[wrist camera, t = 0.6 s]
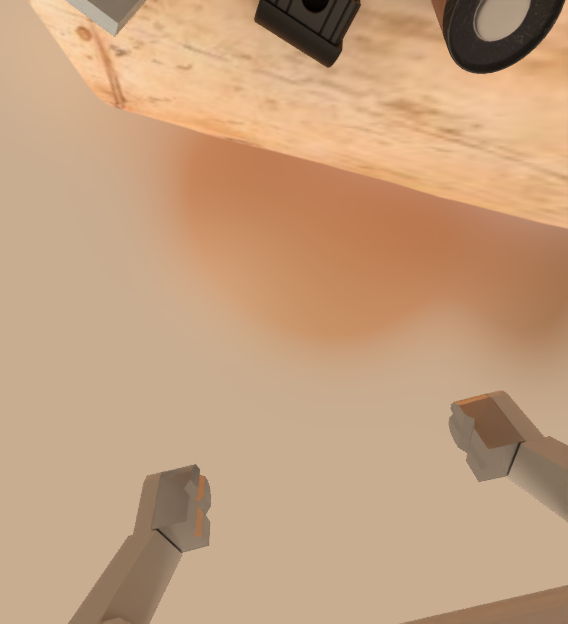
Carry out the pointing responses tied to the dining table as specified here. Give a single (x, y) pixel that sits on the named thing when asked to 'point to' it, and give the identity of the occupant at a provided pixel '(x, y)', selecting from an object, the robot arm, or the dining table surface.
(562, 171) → the dining table surface
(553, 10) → the travel mug
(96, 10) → the tailgate
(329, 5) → the end cap
